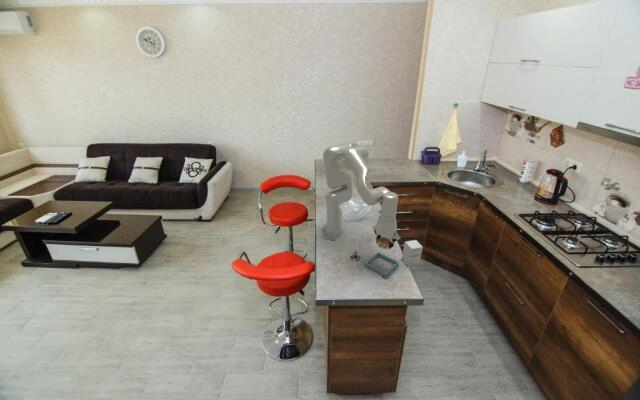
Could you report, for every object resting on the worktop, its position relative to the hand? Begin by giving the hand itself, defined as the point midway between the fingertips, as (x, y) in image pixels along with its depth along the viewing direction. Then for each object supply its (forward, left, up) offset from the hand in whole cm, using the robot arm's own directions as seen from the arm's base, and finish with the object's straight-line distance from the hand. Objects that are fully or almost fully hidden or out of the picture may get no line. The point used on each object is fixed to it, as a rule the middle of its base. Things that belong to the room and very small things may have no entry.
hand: (384, 244), depth 162 cm
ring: (0, 0, 0) cm, 0 cm away
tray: (0, 0, -15) cm, 15 cm away
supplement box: (+10, +15, -16) cm, 24 cm away
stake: (-15, -4, -15) cm, 22 cm away
